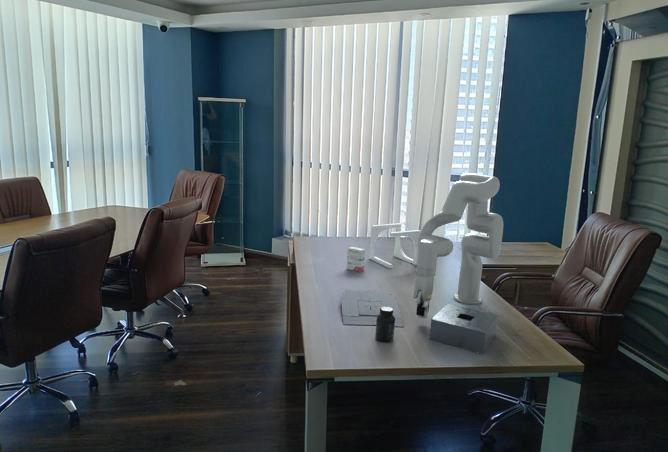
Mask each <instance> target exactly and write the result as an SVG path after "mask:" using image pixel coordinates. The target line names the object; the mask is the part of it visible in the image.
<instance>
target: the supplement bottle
mask: <svg viewBox="0 0 668 452" xmlns="http://www.w3.org/2000/svg"><path fill="white" fill-rule="evenodd" d="M395 327H396V326H395V317H394V316H393V308H391V307H387V306H383V307H381V308H380V314H379V315H378V316H377V321H376V325H375V333H374V334H375V336H374V337H375V339H376V341H377V342H380V343H391V342H393V340H394V338H395Z"/></svg>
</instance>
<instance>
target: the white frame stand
mask: <svg viewBox="0 0 668 452" xmlns="http://www.w3.org/2000/svg"><path fill="white" fill-rule="evenodd" d="M388 229H395V231H391V232H389V237H391V238H393V237H395V239H394V240H395V241H394V248H393V249H394V250H393V251H394V253H393V256H394V257H396V258H398V259H401V260H403V261H405V262H408V263H409V264H411V263H412V265H413V266H417V258H418V238H419V235H420V233H421V231H422V230H420V229H413V230H405V231H404V230H402V223H397V222H396V223H387V224H373V225H371V230H370V243H369V244H370V246H369V256H368V259H370V260H371V261H374V262H376V264H377V263H378V264H380V265H382V266H383V267H386V268H388V269H393V267H394V265H393V264H392V263H391V262H388V261H386V260H384V259H381V258H380V257H377V256H376V255H375V252H376V251H375V248H376V242H377V240H378V238H379V236H380V234H381V233H382V232H384V231H386V230H388ZM404 236H406V237H408V238H410V240H411V241H412V242H413V250H414V251H413V256H412V257H413V258H411V257H409V256H408V255H406V254H405V252H404V250H403V248H402V245H401V237H404Z"/></svg>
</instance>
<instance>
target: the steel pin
mask: <svg viewBox="0 0 668 452" xmlns="http://www.w3.org/2000/svg"><path fill="white" fill-rule="evenodd" d="M432 295H433V293H432V294H430V295H429V296H428V297H427V299H426V300H425V305H424V307H425V314H424V316H419V315H416V317H417V318H419V319H426V318H428V313H429V311H428V302H429V300H430V301H431V300H432V297H433V296H432ZM417 296H418V295H417ZM421 299H423V298H422V297H421ZM421 302H422V303H423V301H421ZM429 303H430V302H429Z"/></svg>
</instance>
